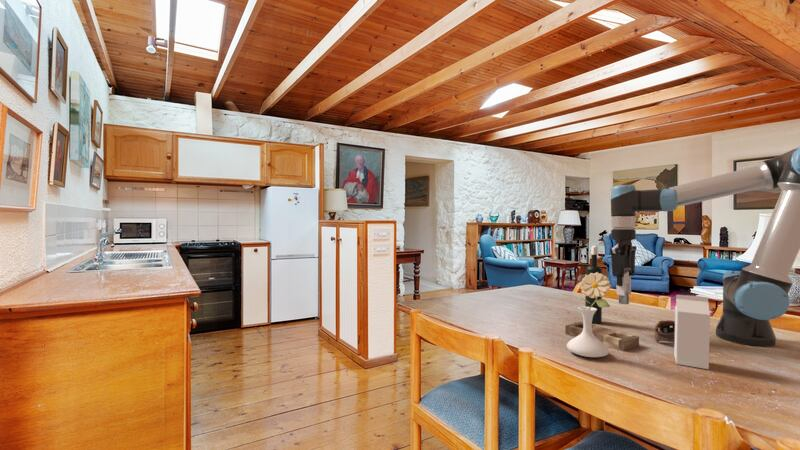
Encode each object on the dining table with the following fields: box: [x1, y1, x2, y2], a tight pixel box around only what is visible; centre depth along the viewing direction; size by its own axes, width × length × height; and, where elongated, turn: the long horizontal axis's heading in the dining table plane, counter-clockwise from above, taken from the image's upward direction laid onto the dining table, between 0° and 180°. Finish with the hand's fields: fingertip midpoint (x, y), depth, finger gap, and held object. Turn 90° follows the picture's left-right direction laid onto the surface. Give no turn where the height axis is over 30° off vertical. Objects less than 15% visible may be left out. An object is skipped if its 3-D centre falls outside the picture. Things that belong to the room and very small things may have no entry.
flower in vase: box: [566, 272, 612, 358], centre depth 113 cm, size 13×11×25 cm
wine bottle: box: [584, 245, 603, 325], centre depth 149 cm, size 6×6×30 cm
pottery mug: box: [654, 319, 675, 343], centre depth 126 cm, size 12×10×8 cm
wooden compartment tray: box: [564, 321, 640, 352], centre depth 128 cm, size 20×9×3 cm, turn 32°
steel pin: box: [618, 267, 630, 305], centre depth 136 cm, size 4×4×13 cm
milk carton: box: [673, 294, 711, 370], centre depth 107 cm, size 7×7×19 cm
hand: (623, 294), depth 136 cm, fingers closed on steel pin, 3 cm apart
